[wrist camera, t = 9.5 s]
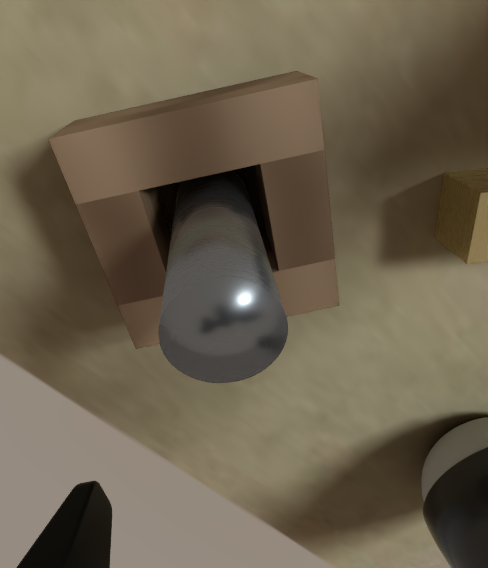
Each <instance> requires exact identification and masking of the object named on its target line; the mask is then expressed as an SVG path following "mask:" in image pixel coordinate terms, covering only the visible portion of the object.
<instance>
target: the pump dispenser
mask: <svg viewBox="0 0 488 568" xmlns="http://www.w3.org/2000/svg"><path fill="white" fill-rule="evenodd" d="M421 489H422V497H423V501H424V506H423V516H424V520H425V522H426V525H427V527H428V529H429V531H430V533H431V535H432V537H433V539H434V541H435V543H436V544H437V546H438V548H439V549H440V551H441V553H442V554H443V556H444V557H445V559H446V561H447V562H448V564H449V565H450V567H451V568H488V417H485V418H479V419H475V420H472V421H469V422H466V423H464V424H461V425H459V426H457V427H455V428H454V429H452V430H450V431H449V432H448V433H446V434H445V435H444V436H443V437H441V438H440V439H439V440H438V441H437V442H436V444H435V445H434V446H433V447H432V449H431V450H430V452H429V454H428V455H427V458H426V460H425V463H424V466H423V470H422V478H421Z"/></svg>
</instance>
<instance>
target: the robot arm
mask: <svg viewBox="0 0 488 568" xmlns="http://www.w3.org/2000/svg"><path fill="white" fill-rule="evenodd" d="M111 528H112V507H111V504H110V502H109V500H108V498H107V496H106V494H105V493H104V491H103V489H102V488H101V486H100V484H99V483H98V482H96V481H90V482H85V483H80V484H78V485H76V486H75V487H74V488H73V490H72V491H71V492H70V494H69V495H68V496H67V498H66V499H65V501H64V502H63V504H62V505H61V506H60V508H59V509H58V511H57V512H56V513H55V515H54V516H53V517H52V519H51V520H50V522H49V523H48V524H47V526H46V527H45V529H44V530H43V531H42V533H41V534H40V536H39V537H38V538H37V540H36V541H35V543H34V544H33V545H32V547H31V548H30V550H29V551H28V552H27V554H26V555H25V556H24V558H23V559H22V561H21V562H20V563H19V565H18V566H17V568H110V548H111Z"/></svg>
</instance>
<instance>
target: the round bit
mask: <svg viewBox="0 0 488 568" xmlns="http://www.w3.org/2000/svg"><path fill="white" fill-rule="evenodd" d="M287 333H288V324H287V318H286V314H285V311H284V308H283V305H282V301H281V298H280V295H279V292H278V289H277V285H276V282H275V279H274V276H273V273H272V269H271V266H270V263H269V260H268V257H267V253H266V250H265V247H264V244H263V241H262V237H261V234H260V231H259V228H258V224H257V221H256V218H255V215H254V212H253V208H252V205H251V202H250V199H249V196H248V192H247V189H246V187H245V184H244V183H243V181H242V179H241V178H240V177H239V176H238V175H237V174H236V173H235V172H233V171H232V170H231V171H226V172H222V173H217V174H212V175H208V176H203V177H199V178H194V179H190V180H185V181H182V182H181V183H180V185H179V188H178V191H177V197H176V204H175V212H174V219H173V226H172V233H171V241H170V248H169V255H168V263H167V270H166V277H165V285H164V292H163V299H162V307H161V314H160V321H159V331H158V336H159V342H160V346H161V349H162V351H163V353H164V355H165V356H166V358H167V359H168V361H169V362H170V363H171V364H172V365H173V366H174V367H175V368H177V369H178V370H179V371H181V372H182V373H184V374H186V375H188V376H190V377H192V378H195V379H197V380H201V381H205V382H212V383H229V382H235V381H240V380H243V379H246V378H249V377H252V376H254V375H256V374H258V373H260V372H261V371H263V370H264V369H266V368H267V367H268V366H269V365H271V364H272V363H273V361H274V360H275V359H276V358H277V357H278V356H279V354H280V353H281V351H282V349H283V347H284V345H285V342H286V338H287Z"/></svg>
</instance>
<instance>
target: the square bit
mask: <svg viewBox="0 0 488 568" xmlns="http://www.w3.org/2000/svg"><path fill="white" fill-rule="evenodd" d="M435 237H436V238H437V239H438V240H439V241H440V242H441V243H443V244H444V245H445V246H446V247H447V248H448V249H450V250H451V251H452V252H453V253H454V254H456V255H457V256H458V257H459V258H460V259H461V260H463V261H464V262H465V263H466V264H472V263H480V262H488V168H480V169H472V170H463V171H455V172H446V173H444V177H443V183H442V190H441V197H440V204H439V210H438V217H437V224H436V231H435Z"/></svg>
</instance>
